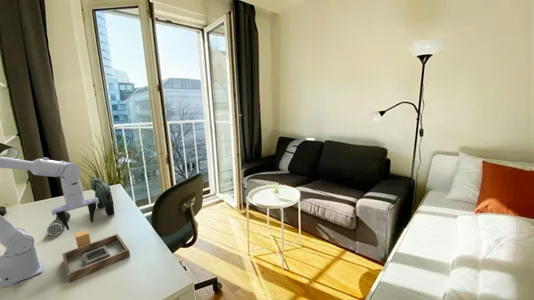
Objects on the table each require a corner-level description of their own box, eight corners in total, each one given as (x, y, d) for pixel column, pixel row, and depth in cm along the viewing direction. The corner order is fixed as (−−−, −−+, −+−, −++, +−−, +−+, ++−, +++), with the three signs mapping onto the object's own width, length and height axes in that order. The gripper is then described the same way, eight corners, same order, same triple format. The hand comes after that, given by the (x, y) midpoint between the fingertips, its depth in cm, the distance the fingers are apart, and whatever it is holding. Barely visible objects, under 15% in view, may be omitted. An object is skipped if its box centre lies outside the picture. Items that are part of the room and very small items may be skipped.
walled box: (69, 282, 79) (67, 274, 79) (63, 260, 90) (62, 253, 90) (130, 256, 91) (129, 249, 91) (118, 240, 103) (117, 233, 102)
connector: (79, 251, 96) (76, 237, 95) (77, 247, 99) (74, 233, 97) (91, 246, 99) (88, 233, 97) (89, 242, 101) (86, 229, 100)
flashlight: (58, 221, 121) (56, 211, 120) (72, 219, 123) (69, 209, 122) (48, 236, 107) (45, 225, 106) (63, 233, 110) (61, 222, 109)
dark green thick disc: (94, 207, 135) (87, 172, 131) (107, 203, 140) (101, 170, 136) (105, 218, 122) (97, 180, 118) (119, 213, 127) (113, 176, 123)
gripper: (93, 185, 102) (99, 215, 105) (47, 196, 92) (55, 228, 95) (97, 189, 97) (103, 221, 100) (48, 201, 87) (57, 235, 90)
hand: (80, 225), depth 97 cm, fingers open, 7 cm apart
